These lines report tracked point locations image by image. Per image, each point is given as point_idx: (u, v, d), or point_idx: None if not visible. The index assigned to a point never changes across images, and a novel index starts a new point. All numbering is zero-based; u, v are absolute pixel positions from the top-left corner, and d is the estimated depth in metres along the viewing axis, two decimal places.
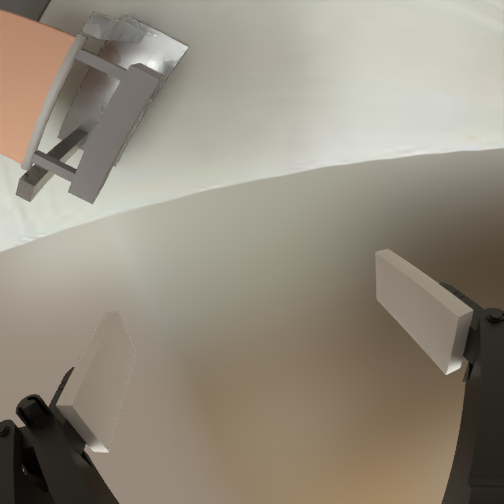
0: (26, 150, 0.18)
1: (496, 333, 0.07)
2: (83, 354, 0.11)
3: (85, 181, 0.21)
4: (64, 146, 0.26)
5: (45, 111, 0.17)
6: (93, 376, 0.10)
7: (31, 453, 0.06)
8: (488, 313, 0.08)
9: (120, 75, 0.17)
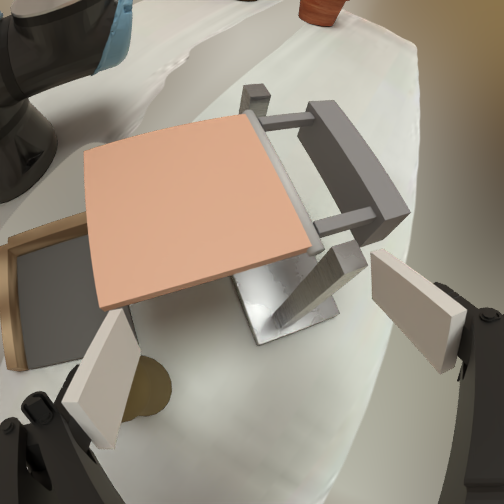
0: (302, 224, 0.17)
1: (490, 333, 0.07)
2: (88, 351, 0.11)
3: (385, 196, 0.18)
4: None
5: (284, 172, 0.19)
6: (98, 373, 0.10)
7: (36, 450, 0.07)
8: (482, 313, 0.08)
9: (309, 115, 0.21)
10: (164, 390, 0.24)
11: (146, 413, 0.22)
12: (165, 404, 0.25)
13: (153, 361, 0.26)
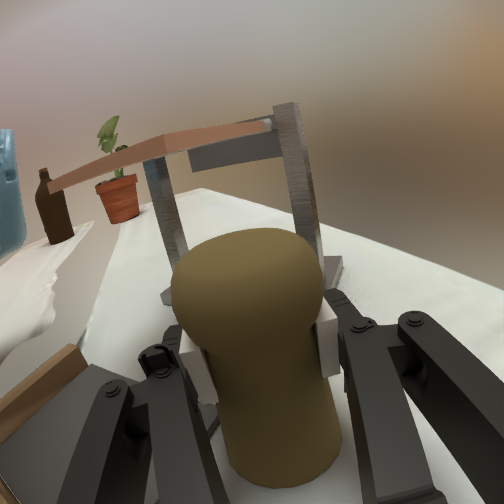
0: None
1: (365, 343, 0.09)
2: None
3: None
4: None
5: None
6: None
7: (147, 410, 0.09)
8: (351, 324, 0.10)
9: None
10: None
11: (332, 409, 0.12)
12: None
13: None
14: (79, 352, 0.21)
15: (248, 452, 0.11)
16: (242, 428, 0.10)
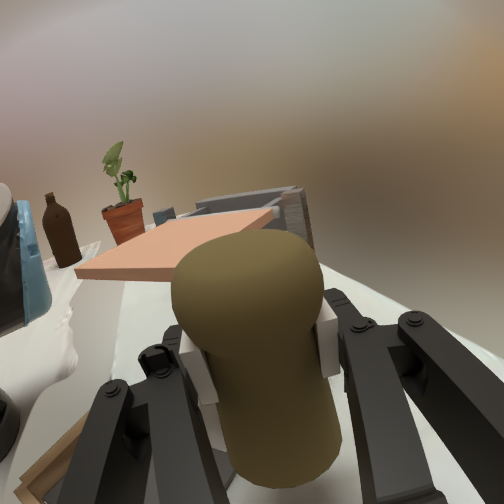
0: (257, 209, 0.25)
1: (365, 343, 0.09)
2: None
3: (278, 189, 0.30)
4: None
5: (221, 212, 0.27)
6: None
7: (147, 410, 0.09)
8: (351, 324, 0.10)
9: (202, 207, 0.33)
10: None
11: (332, 410, 0.12)
12: None
13: None
14: None
15: (248, 452, 0.11)
16: (242, 429, 0.10)
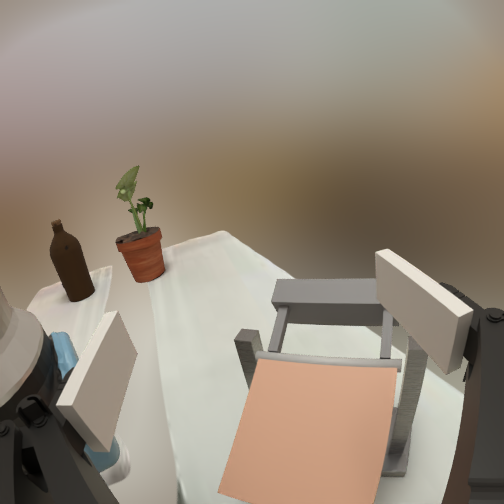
0: (379, 367, 0.20)
1: (496, 333, 0.07)
2: (83, 354, 0.11)
3: None
4: (396, 415, 0.23)
5: (331, 359, 0.22)
6: (93, 376, 0.10)
7: (31, 453, 0.06)
8: (488, 313, 0.08)
9: (283, 308, 0.26)
10: None
11: None
12: None
13: None
14: None
15: None
16: None
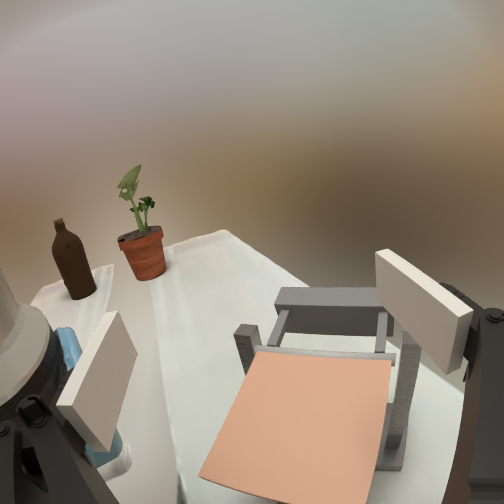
0: (374, 359, 0.21)
1: (496, 333, 0.07)
2: (83, 354, 0.11)
3: None
4: None
5: (328, 352, 0.23)
6: (93, 376, 0.10)
7: (31, 453, 0.06)
8: (488, 313, 0.08)
9: (285, 311, 0.28)
10: None
11: None
12: None
13: None
14: None
15: None
16: None
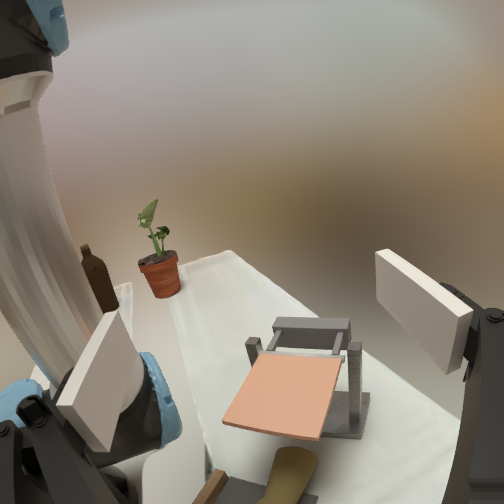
0: (330, 357, 0.36)
1: (496, 333, 0.07)
2: (83, 354, 0.11)
3: (337, 323, 0.40)
4: None
5: (303, 353, 0.38)
6: (93, 376, 0.10)
7: (31, 453, 0.06)
8: (488, 313, 0.08)
9: (278, 331, 0.43)
10: (297, 466, 0.31)
11: (309, 476, 0.31)
12: (311, 456, 0.32)
13: (279, 455, 0.33)
14: (225, 473, 0.34)
15: None
16: None
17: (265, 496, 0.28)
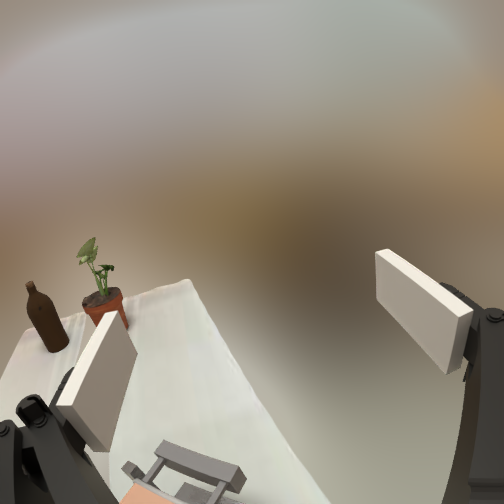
0: None
1: (496, 333, 0.07)
2: (83, 354, 0.11)
3: (221, 471, 0.28)
4: None
5: (174, 499, 0.25)
6: (93, 376, 0.10)
7: (31, 453, 0.06)
8: (488, 313, 0.08)
9: (160, 459, 0.30)
10: None
11: None
12: None
13: None
14: None
15: None
16: None
17: None
